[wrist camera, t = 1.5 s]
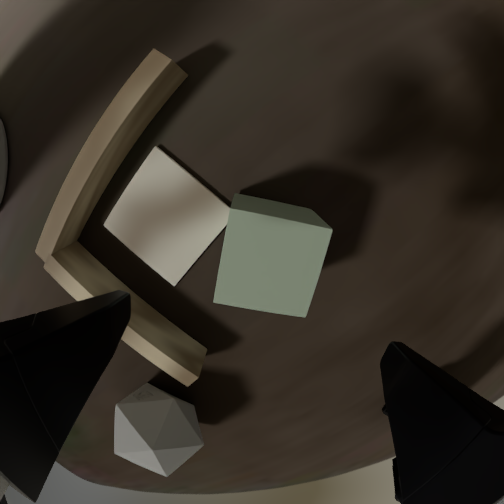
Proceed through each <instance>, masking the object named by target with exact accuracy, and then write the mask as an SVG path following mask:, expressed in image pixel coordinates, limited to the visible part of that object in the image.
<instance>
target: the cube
mask: <svg viewBox="0 0 504 504" xmlns="http://www.w3.org/2000/svg"><path fill="white" fill-rule="evenodd" d="M332 231H333V229H332V228H331V227H330V226H329V225H328V224H327V223H326V222H324V221H323V220H322V219H321V218H320V217H319V216H318V215H317V214H316V213H315V212H314V211H313V210H312V209H308V208H304V207H300V206H295V205H291V204H286V203H281V202H277V201H272V200H267V199H262V198H257V197H252V196H247V195H242V194H237V193H235V194H234V197H233V200H232V204H231V207H230V211H229V217H228V222H227V227H226V233H225V238H224V243H223V249H222V254H221V260H220V266H219V271H218V277H217V283H216V289H215V295H214V301H213V303H219V304H224V305H230V306H236V307H241V308H247V309H253V310H259V311H265V312H272V313H278V314H285V315H291V316H298V317H305V318H306V315H307V312H308V309H309V306H310V303H311V300H312V297H313V294H314V291H315V287H316V284H317V281H318V278H319V275H320V272H321V268H322V265H323V262H324V258H325V255H326V252H327V248H328V245H329V241H330V238H331V234H332Z"/></svg>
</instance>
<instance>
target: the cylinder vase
mask: <svg viewBox="0 0 504 504" xmlns="http://www.w3.org/2000/svg"><path fill="white" fill-rule="evenodd" d="M7 170H8V147H7V138H6V133H5V129H4V125H3V123H2V120H1V118H0V204H1V201H2V198H3V195H4V190H5V186H6V179H7Z"/></svg>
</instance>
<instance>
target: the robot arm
mask: <svg viewBox="0 0 504 504" xmlns="http://www.w3.org/2000/svg"><path fill="white" fill-rule="evenodd" d="M130 318H131V295H130V293H129V292H126V291H122V290H116V291H113V292H109V293H105V294H102V295H98V296H95V297H91V298H88V299H84V300H81V301H77V302H74V303H70V304H67V305H63V306H60V307H56V308H53V309H49V310H46V311H42V312H39V313H37V314H36V313H35V314H32V315H28V316H24V317H21V318H17V319H13V320H8V321H4V322H0V504H7V501H6V498H5V495H4V493H5V491H6V490H7V487H8V486H9V485H10V486H11V487H13V488H14V489H15V490H17V491H18V492H20V493H21V494H23V495H24V496H25V497H27V498H28V499H30V500H31V501H33V502H36V501H37V499H38V497H39V494H40V492H41V490H42V488H43V485H44V483H45V481H46V479H47V477H48V475H49V473H50V471H51V468H52V466H53V464H54V462H55V460H56V458H57V456H58V454H59V452H60V450H61V448H62V446H63V444H64V442H65V440H66V438H67V436H68V434H69V432H70V431H71V429H72V427H73V425H74V423H75V421H76V419H77V418H78V416H79V414H80V412H81V410H82V408H83V407H84V405H85V403H86V401H87V399H88V398H89V396H90V394H91V392H92V391H93V389H94V387H95V385H96V384H97V382H98V380H99V379H100V377H101V375H102V374H103V372H104V370H105V368H106V367H107V365H108V363H109V362H110V360H111V358H112V357H113V355H114V353H115V351H116V349H117V347H118V345H119V342H120V340H121V338H122V336H123V334H124V331H125V329H126V327H127V325H128V323H129V321H130ZM380 368H381V375H382V383H383V391H384V398H385V404H386V406H384V407H383V408H382V411H383V413H384V414H385V415H387V416H388V418H389V422H390V427H391V432H392V437H393V443H394V448H395V454H396V458H394V459H393V476H394V486H395V499H396V500H397V501H399V502H400V503H401V504H504V410H503V409H501V408H499V407H498V406H496V405H494V404H493V403H491V402H489V401H488V400H486V399H485V398H483V397H482V396H480V395H479V394H477V393H476V392H474V391H473V390H471V389H470V388H468V387H467V386H465V385H464V384H462V383H461V382H459V381H458V380H457V379H455V378H454V377H452V376H451V375H449V374H448V373H446V372H445V371H443V370H442V369H440V368H439V367H437V366H436V365H434V364H433V363H431V362H430V361H429V360H427V359H426V358H424V357H423V356H421V355H420V354H418V353H417V352H415V351H414V350H412V349H411V348H409V347H408V346H406V345H405V344H403V343H402V342H395V341H392V342H391V343H390V344H389V345H388V347H387V349H386V351H385V353H384V355H383V357H382V359H381V362H380Z"/></svg>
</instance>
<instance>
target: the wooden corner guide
mask: <svg viewBox="0 0 504 504" xmlns="http://www.w3.org/2000/svg"><path fill="white" fill-rule="evenodd" d="M187 77H188V74H186V73H185V72H184V71H183V70H182V69H181V68H180V67H179V66H178V65H177V64H176V63H175V62H173V61H172V60H171V59H170V58H168V57H166V56H165V55H163V54H162V53H160V52H159V51H157V50H156V49H153V50H152V51H151V52H150V53H149V54H148V56H147V57H146V58H145V59H144V60H143V62H142V63H141V64H140V65H139V66H138V68H137V69H136V70H135V71H134V73H133V74H132V75H131V76H130V78H129V79H128V80H127V82H126V83H125V84H124V86H123V87H122V88H121V90H120V91H119V92H118V94H117V95H116V96H115V98H114V99H113V101H112V102H111V104H110V105H109V106H108V108H107V109H106V111H105V112H104V114H103V115H102V117H101V118H100V120H99V121H98V123H97V125H96V126H95V128H94V129H93V131H92V133H91V134H90V136H89V138H88V139H87V141H86V143H85V144H84V146H83V148H82V150H81V151H80V153H79V155H78V157H77V158H76V160H75V162H74V164H73V166H72V168H71V170H70V172H69V174H68V175H67V177H66V179H65V181H64V183H63V186H62V188H61V190H60V192H59V194H58V196H57V198H56V200H55V203H54V205H53V207H52V210H51V212H50V214H49V217H48V219H47V221H46V224H45V226H44V229H43V231H42V234H41V237H40V239H39V242H38V245H37V248H36V250H35V252H36V253H37V254H38V255H39V257H40V258H41V259H42V260H43V261H44V262H45V264H44V268H45V269H46V271H47V272H48V273H49V274H50V275H51V276H52V277H53V278H54V279H55V280H56V281H57V282H58V283H59V284H60V285H61V286H62V287H63V288H64V289H65V290H66V291H67V292H68V293H69V294H70V295H71V296H72V297H73V298H75V299H76V300H77V301H81V300H84V299H88V298H91V297H95V296H98V295H102V294H105V293H109V292H113V291H116V290H122V291H126V292H129V293H130V295H131V318H130V321H129V323H128V325H127V327H126V329H125V331H124V334H123V336H122V338H121V339H122V340H123V341H124V342H126V343H127V344H128V345H129V346H131V347H132V348H133V349H135V350H136V351H137V352H138V353H140V354H141V355H142V356H144V357H145V358H147V359H148V360H149V361H151V362H152V363H153V364H155V365H156V366H158V367H159V368H160V369H162V370H163V371H165V372H166V373H168V374H169V375H170V376H172V377H173V378H175V379H176V380H178V381H179V382H181V383H182V384H184V385H186V386H187V387H188V386H189V385H191V384H192V383H193V382H194V381H195V380H197V379H198V378H199V375H200V372H201V369H202V365H203V362H204V359H205V355H206V352H207V348H205V347H204V346H203V345H201V344H200V343H198V342H197V341H196V340H194V339H193V338H191V337H190V336H189V335H187V334H186V333H185V332H183V331H182V330H181V329H179V328H178V327H177V326H175V325H174V324H173V323H171V322H170V321H169V320H168V319H166V318H165V317H164V316H162V315H161V314H160V313H159V312H157V311H156V310H155V309H154V308H152V307H151V306H150V305H149V304H147V303H146V302H145V301H144V300H143V299H141V298H140V297H139V296H138V295H137V294H135V293H134V292H133V291H132V290H131V289H129V288H128V287H127V286H126V285H125V284H124V283H122V282H121V281H120V280H119V279H118V278H117V277H116V276H114V275H113V274H112V273H111V272H110V271H109V270H108V269H107V268H105V267H104V266H103V265H102V264H101V263H100V262H99V261H98V260H97V259H96V258H95V257H94V256H92V255H91V254H90V253H89V252H88V251H87V250H86V249H85V248H84V247H83V246H82V245H81V244H80V243H79V242H78V241H77V240H78V238H79V236H80V234H81V232H82V230H83V228H84V226H85V224H86V222H87V220H88V218H89V217H90V215H91V213H92V211H93V209H94V208H95V206H96V204H97V202H98V200H99V199H100V197H101V195H102V194H103V192H104V190H105V188H106V187H107V185H108V184H109V182H110V180H111V179H112V177H113V175H114V174H115V172H116V171H117V169H118V168H119V166H120V164H121V163H122V161H123V160H124V158H125V157H126V155H127V154H128V152H129V151H130V149H131V148H132V147H133V145H134V144H135V142H136V141H137V139H138V138H139V137H140V135H141V134H142V132H143V131H144V130H145V128H146V127H147V126H148V124H149V123H150V122H151V120H152V119H153V118H154V116H155V115H156V114H157V113H158V111H159V110H160V109H161V107H162V106H163V105H164V104H165V102H166V101H167V100H168V99H169V98H170V96H171V95H172V94H173V93H174V92H175V90H176V89H177V88H178V87H179V86H180V85H181V83H182V82H183V81H184V80H185V79H186V78H187ZM229 211H230V207H229V206H228V205H227V204H226V203H224V202H223V201H222V200H221V199H220V198H219V197H217V196H216V195H215V194H214V193H213V192H211V191H210V190H209V189H208V188H207V187H205V186H204V185H203V184H202V183H201V182H200V181H198V180H197V179H196V178H195V177H194V176H192V175H191V174H190V173H189V172H188V171H186V170H185V169H184V168H183V167H182V166H180V165H179V164H178V163H177V162H175V161H174V160H173V159H172V158H171V157H169V156H168V155H167V154H166V153H165V152H163V151H162V150H161V149H160V148H159V147H157V146H155V147H154V149H153V150H152V151H151V153H150V154H149V155H148V157H147V158H146V160H145V161H144V162H143V164H142V165H141V167H140V168H139V170H138V171H137V173H136V174H135V175H134V177H133V178H132V180H131V181H130V183H129V184H128V186H127V188H126V189H125V191H124V192H123V194H122V195H121V197H120V198H119V200H118V202H117V203H116V205H115V206H114V208H113V210H112V211H111V213H110V215H109V216H108V218H107V220H106V222H105V223H104V226H105V227H106V228H107V229H108V230H109V231H110V232H111V233H112V234H113V235H115V236H116V237H117V238H118V239H119V240H120V241H121V242H122V243H123V244H125V245H126V246H127V247H128V248H129V249H130V250H131V251H133V252H134V253H135V254H136V255H137V256H138V257H139V258H141V259H142V260H143V261H144V262H145V263H146V264H148V265H149V266H150V267H151V268H152V269H154V270H155V271H156V272H157V273H158V274H160V275H161V276H162V277H163V278H164V279H166V280H167V281H168V282H169V283H170V284H172V285H173V286H175V285H176V284H177V283H178V281H179V280H180V279H181V278H182V277H183V275H184V274H185V273H186V272H187V271H188V269H189V268H190V267H191V266H192V265H193V263H194V262H195V261H196V260H197V259H198V257H199V256H200V255H201V254H202V253H203V252H204V250H205V249H206V248H207V247H208V246H209V245H210V243H211V242H212V241H213V240H214V239H215V238H216V236H217V235H218V234H219V233H220V232H221V231H222V229H223V228H224V227H225V226H226V225H227V222H228V217H229Z"/></svg>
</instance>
